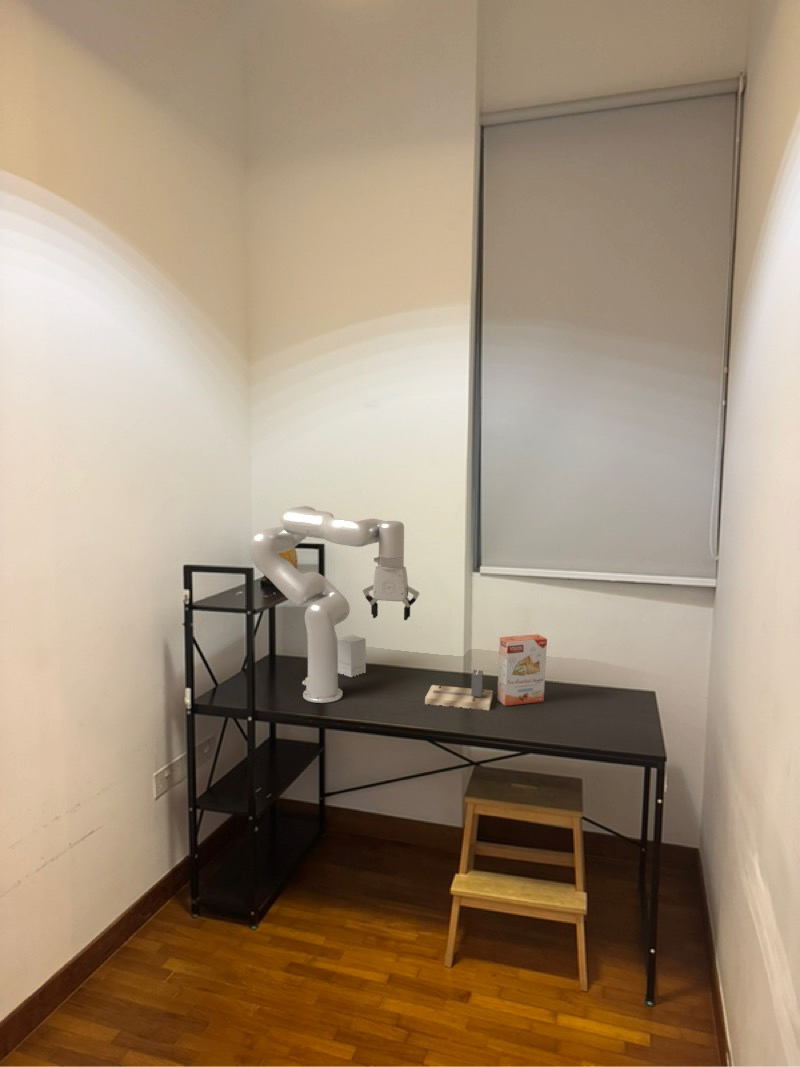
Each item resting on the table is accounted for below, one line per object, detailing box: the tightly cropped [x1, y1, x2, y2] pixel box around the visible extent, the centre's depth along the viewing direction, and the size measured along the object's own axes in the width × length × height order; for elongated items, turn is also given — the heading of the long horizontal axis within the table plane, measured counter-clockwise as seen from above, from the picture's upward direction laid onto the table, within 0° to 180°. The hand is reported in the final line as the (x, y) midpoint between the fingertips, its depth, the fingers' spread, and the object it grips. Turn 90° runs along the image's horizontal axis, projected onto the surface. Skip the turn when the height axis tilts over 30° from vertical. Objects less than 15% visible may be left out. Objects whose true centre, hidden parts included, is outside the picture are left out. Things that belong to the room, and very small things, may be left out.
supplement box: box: [337, 634, 367, 678], centre depth 243 cm, size 7×7×13 cm
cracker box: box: [496, 633, 548, 707], centre depth 217 cm, size 14×6×21 cm, turn 109°
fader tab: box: [471, 669, 484, 697], centre depth 217 cm, size 3×4×7 cm, turn 167°
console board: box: [424, 684, 494, 711], centre depth 219 cm, size 20×12×2 cm, turn 77°
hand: (390, 618), depth 208 cm, fingers open, 9 cm apart
